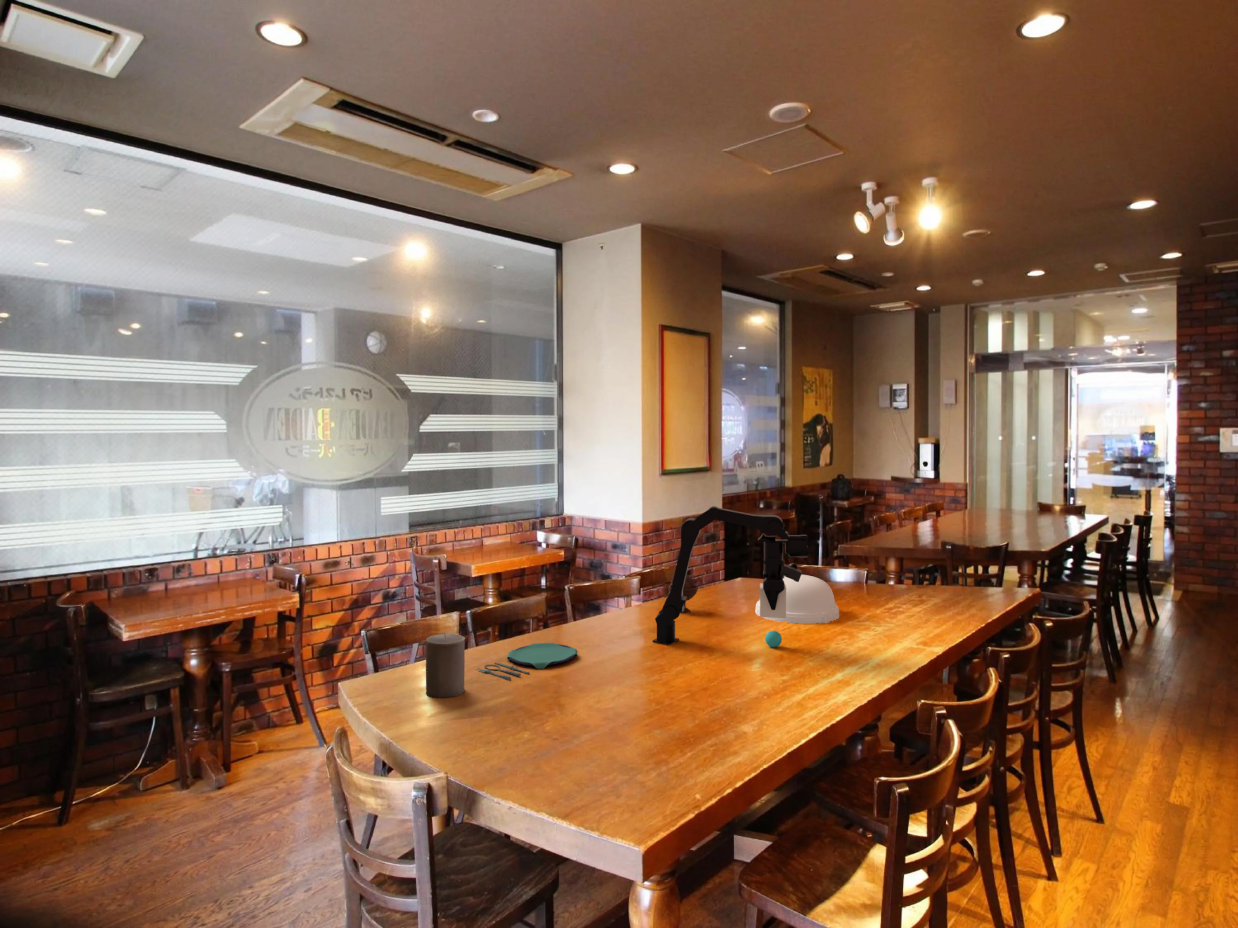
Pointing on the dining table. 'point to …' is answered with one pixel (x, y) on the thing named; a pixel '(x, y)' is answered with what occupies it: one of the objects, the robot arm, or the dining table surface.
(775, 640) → the ball
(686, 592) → the ice cream bowl
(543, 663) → the cutlery set
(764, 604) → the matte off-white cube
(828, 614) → the dome cover
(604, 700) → the dining table surface
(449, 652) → the pillar candle
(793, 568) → the robot arm
